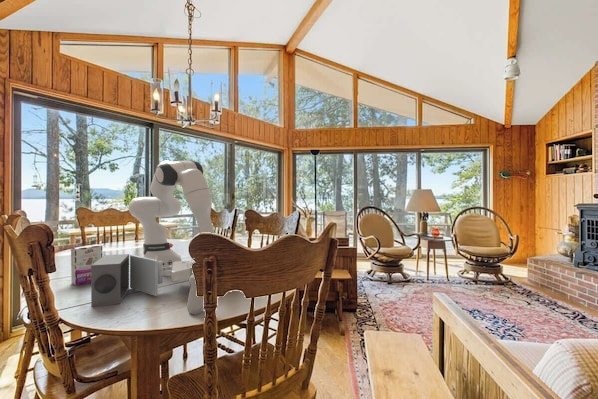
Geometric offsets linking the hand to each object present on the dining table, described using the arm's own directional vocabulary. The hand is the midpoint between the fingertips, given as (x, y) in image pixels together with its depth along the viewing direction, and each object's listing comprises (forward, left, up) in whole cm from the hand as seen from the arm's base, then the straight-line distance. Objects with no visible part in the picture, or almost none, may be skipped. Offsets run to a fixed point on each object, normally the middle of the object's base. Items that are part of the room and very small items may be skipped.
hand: (160, 271), depth 124 cm
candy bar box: (+25, -33, -9) cm, 42 cm away
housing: (+17, -4, -9) cm, 19 cm away
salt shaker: (-6, +29, -9) cm, 31 cm away
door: (+4, -4, -8) cm, 10 cm away
